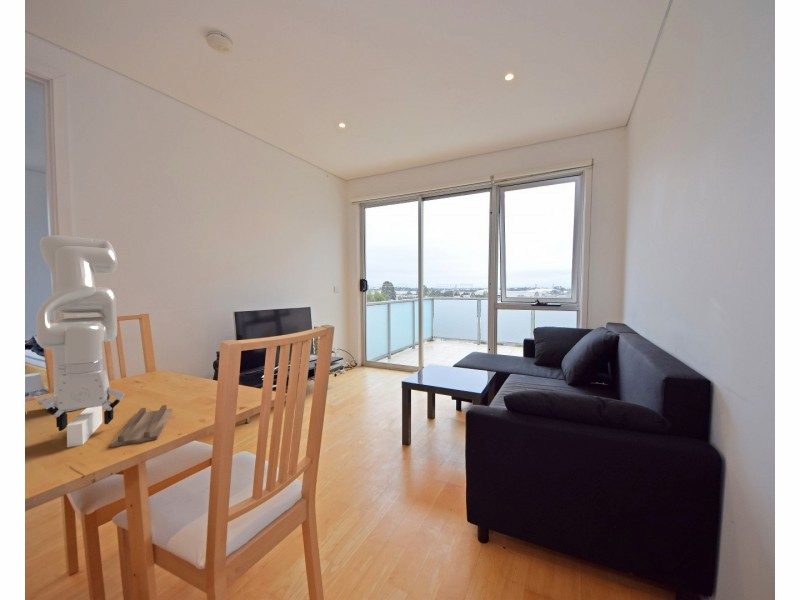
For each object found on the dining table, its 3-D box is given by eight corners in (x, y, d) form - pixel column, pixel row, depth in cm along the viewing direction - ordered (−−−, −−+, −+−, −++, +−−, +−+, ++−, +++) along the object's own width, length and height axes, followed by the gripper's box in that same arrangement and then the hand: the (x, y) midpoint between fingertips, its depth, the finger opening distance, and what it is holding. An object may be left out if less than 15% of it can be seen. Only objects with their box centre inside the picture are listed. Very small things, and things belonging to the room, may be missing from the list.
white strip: (67, 448, 83) (66, 425, 83) (89, 424, 97) (88, 405, 97) (82, 445, 84) (82, 423, 84) (102, 422, 98) (102, 403, 98)
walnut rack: (110, 447, 83) (110, 438, 83) (135, 416, 103) (135, 409, 103) (157, 439, 88) (156, 430, 88) (172, 411, 107) (172, 404, 107)
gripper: (34, 374, 83) (36, 437, 83) (119, 367, 90) (120, 425, 91) (49, 367, 89) (51, 426, 90) (127, 361, 97) (128, 415, 98)
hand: (86, 425), depth 91 cm, fingers open, 9 cm apart
